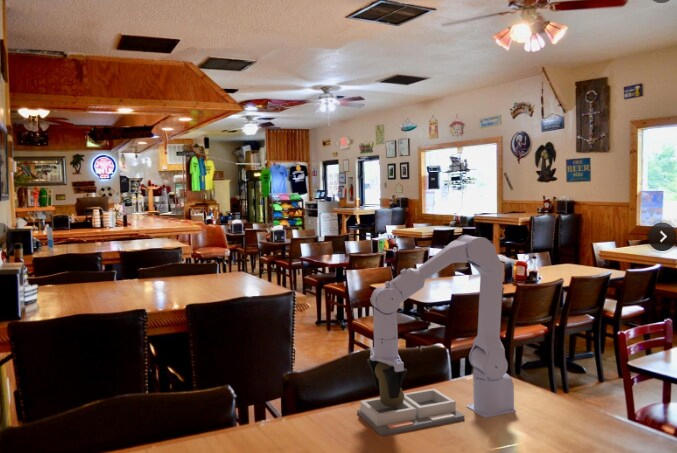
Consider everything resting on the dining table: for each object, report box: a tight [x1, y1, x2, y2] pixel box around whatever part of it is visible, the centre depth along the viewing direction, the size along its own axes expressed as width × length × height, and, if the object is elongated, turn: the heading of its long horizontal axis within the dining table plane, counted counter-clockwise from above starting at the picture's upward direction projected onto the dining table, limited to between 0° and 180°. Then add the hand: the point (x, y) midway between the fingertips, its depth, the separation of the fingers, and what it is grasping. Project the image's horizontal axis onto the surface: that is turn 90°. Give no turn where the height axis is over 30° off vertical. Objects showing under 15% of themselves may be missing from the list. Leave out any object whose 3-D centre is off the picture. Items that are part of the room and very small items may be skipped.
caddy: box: [356, 388, 465, 437], centre depth 135 cm, size 22×14×4 cm, turn 111°
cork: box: [375, 362, 405, 407], centre depth 134 cm, size 6×6×11 cm
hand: (386, 392), depth 134 cm, fingers open, 7 cm apart
